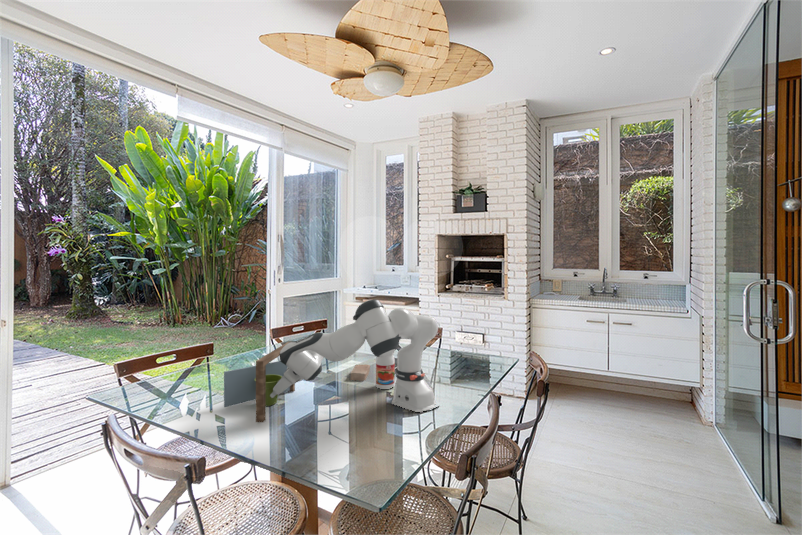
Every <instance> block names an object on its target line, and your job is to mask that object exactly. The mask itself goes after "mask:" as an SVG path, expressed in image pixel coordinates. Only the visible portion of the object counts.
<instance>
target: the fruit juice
mask: <svg viewBox="0 0 802 535" xmlns="http://www.w3.org/2000/svg"><path fill="white" fill-rule="evenodd" d="M394 353H395V351H394V352H393V353H392V354H390V355H388V356H385V357H377V356H375V357H376V358H375V388H376V387H377V388H376V389H378V388H380V389H379V390H381V389H389V388H392V387H395V376H396V371H395V370H396V368H395V363H396V362H395V361H396V360H395V356H394ZM392 389H393V388H392ZM389 390H390V389H389Z"/></svg>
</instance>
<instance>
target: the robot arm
mask: <svg viewBox="0 0 802 535" xmlns="http://www.w3.org/2000/svg"><path fill="white" fill-rule="evenodd" d="M352 320H353V321H355V322H352V323H349V324H347V325H343V327H339V328H338V329H337V330H335V331H333V332H328V333H323V332H315V333H312V334H309V335H307V336H305V337H302V338H300V339H298V340H292V342H290V343H288V344H286V345H285V346H284V347H283V348H282V350H281V351H280V353H279V355H280V356H279V361H280V362H282V363H283V364H285V365H287V366H288V367H287V370H286V371H285V372H284V375H283V377H282V378H281V379H280V380H279V381H278V383H277V384H276V385H275V386H274V388H273V392H272V393H271V394H270V397H271V398H273V397H274V396H275V395H278V396H279V395H281V394H283V393H282V392H283V391H285V390H286V389H287V388H288V387H290V386H291V385H292V384H295V385H296V383H299V382H301V381H303V380H304V381H305V382H308V381H309V382H310V381H313V380H315V378H317V377H318V376H319V375H320V374H321V373H322V371H323V366H322V361H323V360H324V359H326V360H328V361H330V362H332V363H333V362H337V363H338V362H342V361H345V360H346V359H348V358H349V357H351V356H353V355H354V354H355V353H357V352H358V351H359V350H360V349H361V348H362V346H363V345H364V344H365V342H367V344H368V346H369V348H370V351H371V353H372V354H373V356H374V357H385V356H388V355H390V354H392V353H393V352H394V353H395V351H396V350H397V349H398V347H399V345H400V341H401V340H410V343H409V344H407V345H405V346H403V347H401V348H400V349H399V350H398V351H397V353H396V355H397V356H396V358H397V359H396V360H397V362H396V364H397V366H396V368H395V370H396V371H395V376H396V380H395V382H394V388H393V399H392V400H391V405H393V404H394V406H396V405H397V406H396V407H399V406H400V407H399V408H401V407H402V408H401V409H404V408H405V410H407V409H409V410H408V411H410V410H412V411H415V412H420V413H424V412H423V411H426V410H429V409H432V408H434V407H436V406H434V405H436V404H437V403H436V401H437V400H435V394H434V390H433V388H432V387H430V385H429V384H428V383H427V381H426V380H425V377H426V375H425V374H426V373H424V372H423V369H422V359H423V352H424V349H425V348H426V345H427V344H428V343H429V342H430V341H431V340H433V339H434V338H435V337H436V336H437V333H438V332H439V324H438V322H437V320H436V319H435V318H434V317H432V316H429V315H424V314H423V315H422V314H414V313H413V312H412V311H410V310H409V309H407V308H405V307H397V308H393V309H392V310H391V311H390V312H389V313H388V314H387V312H386V310H385V306H384V305H383V303H382V302H381V301H380V300H379V299H369V300H368V299H367V300H366V301H364V302H362V303H361V304H359V306H357V308H356V311H355V313H354V315H353V316H352ZM412 411H411V412H412ZM415 412H414V413H415Z"/></svg>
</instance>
